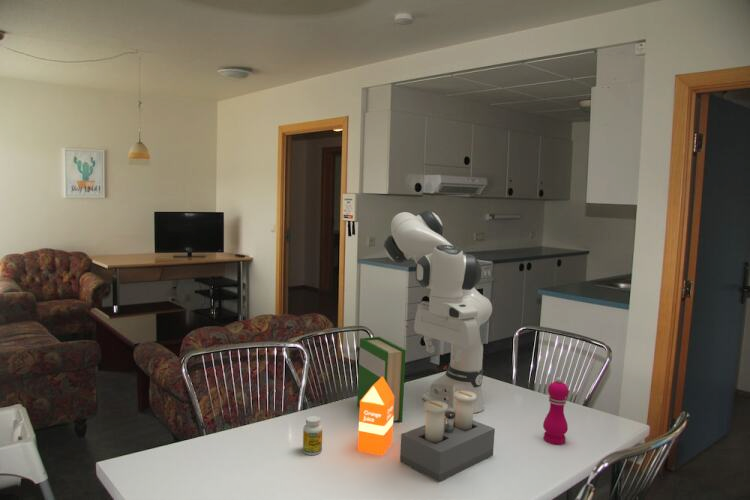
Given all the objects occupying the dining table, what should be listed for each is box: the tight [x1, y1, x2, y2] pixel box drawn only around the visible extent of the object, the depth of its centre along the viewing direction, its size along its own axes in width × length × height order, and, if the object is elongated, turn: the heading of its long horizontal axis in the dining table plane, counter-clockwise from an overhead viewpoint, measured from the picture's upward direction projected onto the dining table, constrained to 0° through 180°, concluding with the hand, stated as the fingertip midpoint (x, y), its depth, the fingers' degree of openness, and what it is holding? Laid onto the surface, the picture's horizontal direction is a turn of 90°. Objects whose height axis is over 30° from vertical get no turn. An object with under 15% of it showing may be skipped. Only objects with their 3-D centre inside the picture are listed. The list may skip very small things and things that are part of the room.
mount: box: [399, 416, 496, 483], centre depth 159 cm, size 14×24×8 cm, turn 134°
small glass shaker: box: [444, 411, 456, 433], centre depth 158 cm, size 3×3×5 cm
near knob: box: [423, 400, 448, 444], centre depth 153 cm, size 6×6×10 cm
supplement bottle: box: [302, 415, 323, 456], centre depth 159 cm, size 5×5×10 cm
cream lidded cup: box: [454, 391, 477, 432], centre depth 162 cm, size 6×6×10 cm
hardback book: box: [356, 336, 407, 424], centre depth 188 cm, size 18×7×24 cm, turn 29°
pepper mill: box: [542, 376, 570, 445], centre depth 174 cm, size 7×7×20 cm
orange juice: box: [357, 376, 394, 456], centre depth 163 cm, size 8×9×20 cm
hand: (442, 356), depth 153 cm, fingers open, 8 cm apart
